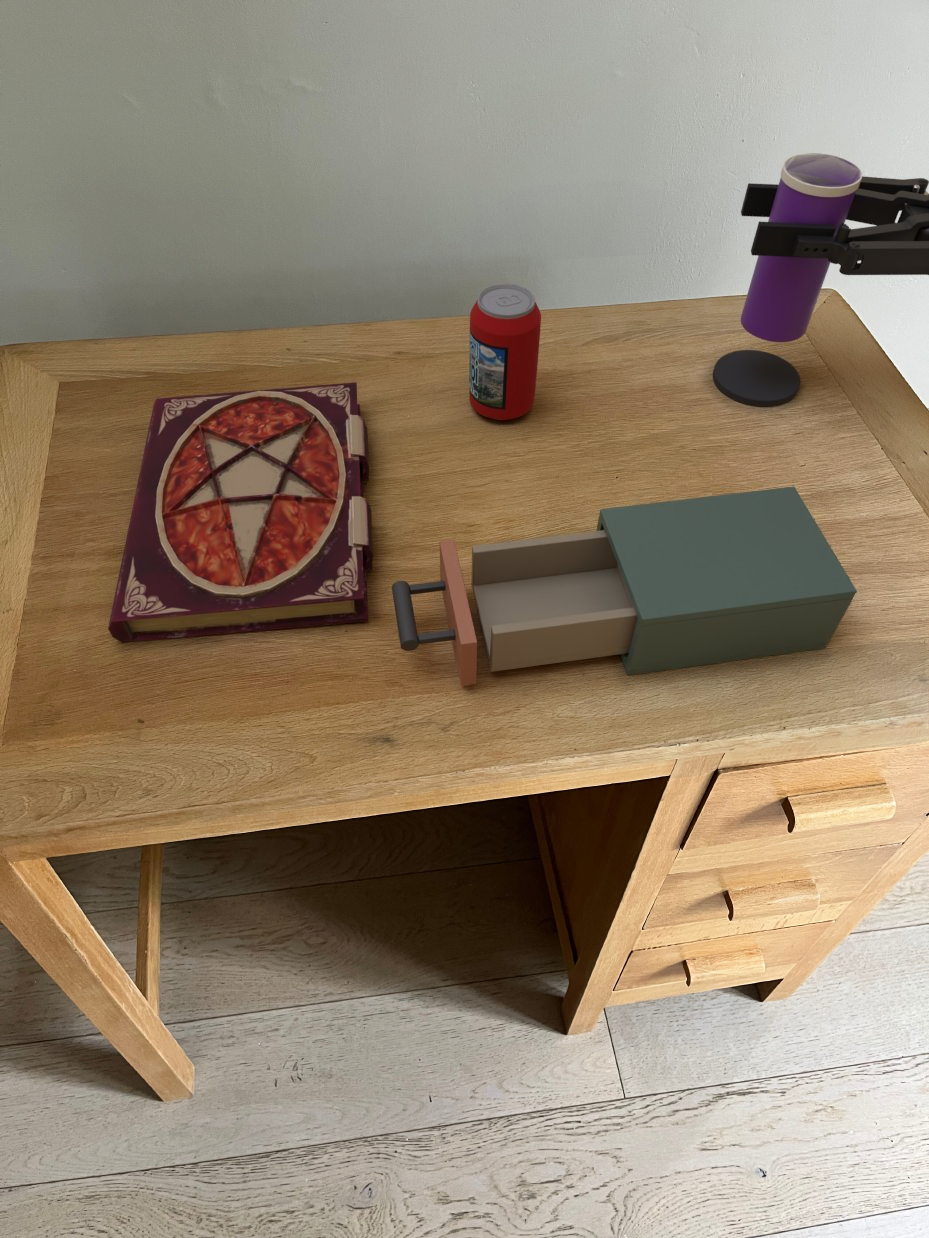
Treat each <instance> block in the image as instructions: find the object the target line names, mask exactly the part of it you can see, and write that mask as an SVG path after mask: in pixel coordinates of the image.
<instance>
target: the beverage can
mask: <svg viewBox="0 0 929 1238" xmlns="http://www.w3.org/2000/svg"><path fill="white" fill-rule="evenodd" d="M541 325H542V313H541V310H540V308H539V306H538V304H537V302H536V297H535V295H534V294H533V291H531V290H529V289H528V288H526V287H524V286H521V285H518V284H513V283H497V284H493V285H490V286H487V287H485V288H484V289H483V290H481V291H480V292H479V293H478V296H477V300H476V301H475V302H474V304H473V306H472V308H471V309H470V312H469V342H468V343H469V348H468V350H469V351H468V353H469V355H468V356H469V357H468V360H469V363H468V391H469V392H468V396H469V397H468V399H469V404H470V406H471V407H472V409H473V410H474V411H475V412H477V413H478V414H479V415H481V416H483V417H486V418H489V419H492V420H497V421H506V420H507V421H508V420H513V419H517V418H519V417H521V416H522V417H523V416H524V415H525V414H527V413H528V412H530V410H531V409H532V408H533V406H534V402H535V396H536V386H537V377H538V364H539V353H540V351H539V350H540V340H541V327H542V326H541Z"/></svg>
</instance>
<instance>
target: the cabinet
mask: <svg viewBox="0 0 929 1238" xmlns="http://www.w3.org/2000/svg"><path fill="white" fill-rule="evenodd" d="M600 530H605V532H606V535H607V538H608V540H609V543H610V546H611V548H612V551H613V553H614V556H615V559H616V561H617V564H618V567H619V569H620V572H621V575H622V577H623V580H624V582H625V585H626V588H627V590H628V593H629V596H630V598H631V601H632V604H633V606H634V609H635V611H636V614H637V617H638V619H637V623H636V627H635V631H634V635H633V639H632V643H631V646H630V650H629V653H625V654H619V655H620V658H621V660H622V663H623V667H624V669H625V672H626V675H627V676H634V675H635V676H636V675H641V674H649V673H655V672H656V673H657V672H665V671H671V670H676V669H678V670H679V669H684V668H690V667H691V668H692V667H698V666H706V665H713V664H720V663H727V662H734V661H741V660H750V659H756V658H763V657H770V656H776V655H784V654H792V653H800V652H806V651H814V650H820V649H826V648H827V646H828V644H829V643H830V641H831V639H832V638H833V635H834V634H835V632H836V630H837V628H838V626H839V625H840V623H841V621H842V619H843V617H844V616H845V614H846V612H847V611H848V609H849V607H850V605H851V603H852V602H853V599H854V597H855V596H856V594H857V592H858V591H857V589H856V587H855V585H854V584H853V582H852V580H851V578H850V577H849V575H848V573H847V572H846V570H845V568H844V567H843V565H842V564H841V562H840V561H839V558H838V557H837V555H836V554H835V552H834V551H833V548H832V547H831V545H830V544H829V542H828V540H827V539H826V537H825V535H824V534H823V532H822V530H821V528H820V527H819V525H818V523H817V522H816V520H815V518H814V517H813V515H812V514H811V512H810V510H809V508H808V507H807V505H806V503H805V502H804V500H803V498H802V497H801V495H800V494H799V492H798V491H797V489H796V487H795V486H787V487H786V486H785V487H778V488H770V489H768V488H767V489H761V490H753V491H743V492H736V493H735V492H734V493H727V494H726V493H725V494H717V495H710V496H700V497H693V498H685V499H684V498H683V499H676V500H666V501H657V502H650V503H642V504H634V505H633V504H632V505H624V506H616V507H615V506H614V507H607V508H601V509H599V515H598V521H597V525H596V530H595V531H600Z"/></svg>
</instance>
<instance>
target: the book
mask: <svg viewBox="0 0 929 1238" xmlns="http://www.w3.org/2000/svg"><path fill="white" fill-rule="evenodd" d="M149 421H150V422H149V426H148V430H147V435H146V440H145V445H144V450H143V456H142V460H141V465H140V470H139V474H138V480H137V485H136V489H135V495H134V498H133V499H134V500H133V504H132V509H131V512H130V513H131V514H130V517H129V524H128V527H127V533H126V539H125V543H124V549H123V553H122V558H121V563H120V564H121V565H120V569H119V572H118V573H119V574H118V578H117V583H116V588H115V591H114V598H113V601H112V602H113V603H112V606H111V613H110V617H109V622H108V627H107V630H108V631H109V633H110V636H111V637H112V638H113V639H115V640H117V641H119V642H121V643H133V642H141V641H142V642H143V641H154V640H155V641H156V640H164V639H166V640H167V639H176V638H189V637H200V636H211V635H222V634H233V633H234V634H235V633H246V632H257V631H258V632H259V631H268V630H269V631H270V630H280V629H291V628H302V627H303V628H305V627H313V626H314V627H315V626H327V625H336V624H337V625H338V624H347V623H358V622H359V623H361V622H368V621H369V611H368V610H369V609H368V608H369V607H368V583H367V573H369V572H370V571H372V570H373V561H374V549H373V548H374V546H373V544H374V543H373V522H372V521H373V520H372V509H371V506H370V503H369V501H368V498H366V497H364V484H366V483H367V482H369V474H370V458H369V457H370V455H369V435H368V434H369V433H368V426H367V424H366V421H365V418H364V417H363V416H361V405H360V403H358V383H357V382H356V381H355V382H354V381H353V382H343V383H331V384H330V383H329V384H317V385H305V386H293V387H281V388H269V389H268V388H267V389H260V390H259V389H257V390H245V391H235V392H234V391H233V392H222V393H219V392H218V393H208V394H197V395H185V396H184V395H183V396H182V395H181V396H172V397H171V396H170V397H159V398H158V397H157V398H156V399H155V401H154V403H153V406H152V410H151V415H150V420H149Z"/></svg>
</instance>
